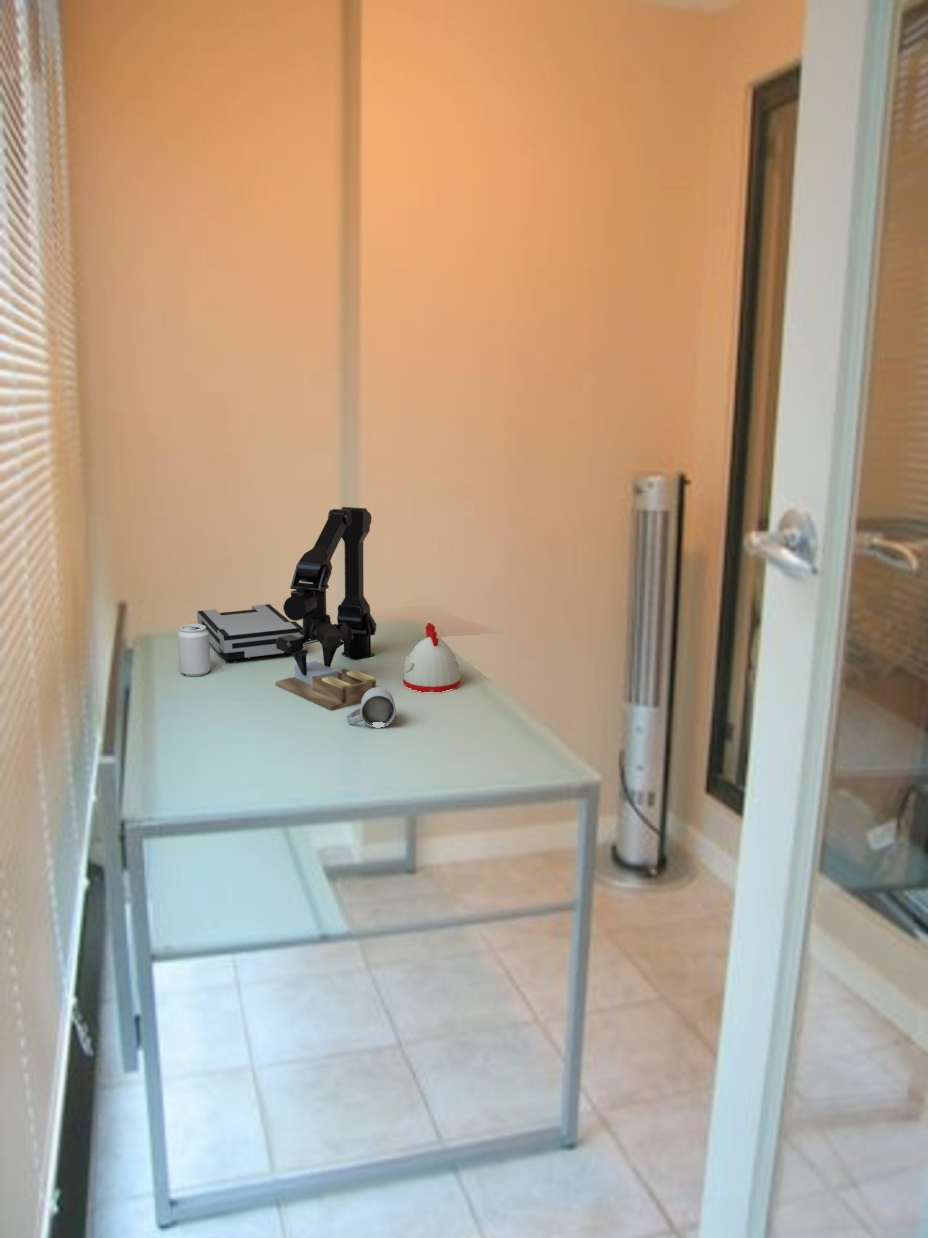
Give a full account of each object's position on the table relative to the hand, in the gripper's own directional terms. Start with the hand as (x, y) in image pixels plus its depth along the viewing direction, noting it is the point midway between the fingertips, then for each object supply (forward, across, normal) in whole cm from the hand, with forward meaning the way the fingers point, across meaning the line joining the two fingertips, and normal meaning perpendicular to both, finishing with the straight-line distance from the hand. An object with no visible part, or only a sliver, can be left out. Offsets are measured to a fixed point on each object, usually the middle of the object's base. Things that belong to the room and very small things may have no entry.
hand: (315, 672), depth 254 cm
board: (+3, 0, -6) cm, 7 cm away
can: (+3, -18, +26) cm, 32 cm away
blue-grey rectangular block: (+2, 0, 0) cm, 2 cm away
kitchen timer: (+3, +22, -18) cm, 28 cm away
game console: (+4, +5, +39) cm, 40 cm away
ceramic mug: (+3, -6, -29) cm, 30 cm away
